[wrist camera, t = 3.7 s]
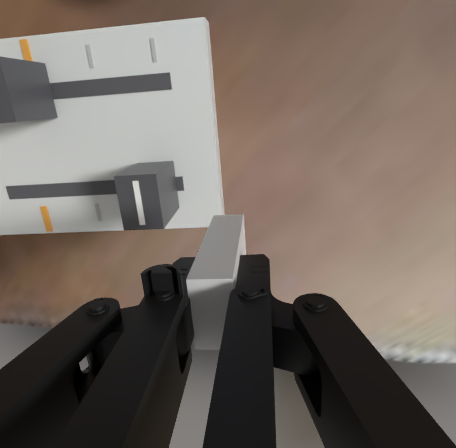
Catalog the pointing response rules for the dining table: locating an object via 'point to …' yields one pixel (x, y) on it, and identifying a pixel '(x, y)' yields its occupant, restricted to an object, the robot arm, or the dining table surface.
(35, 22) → the dining table surface
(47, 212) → the console
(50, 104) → the fader
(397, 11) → the dining table surface
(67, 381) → the robot arm
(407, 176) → the dining table surface
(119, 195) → the fader
